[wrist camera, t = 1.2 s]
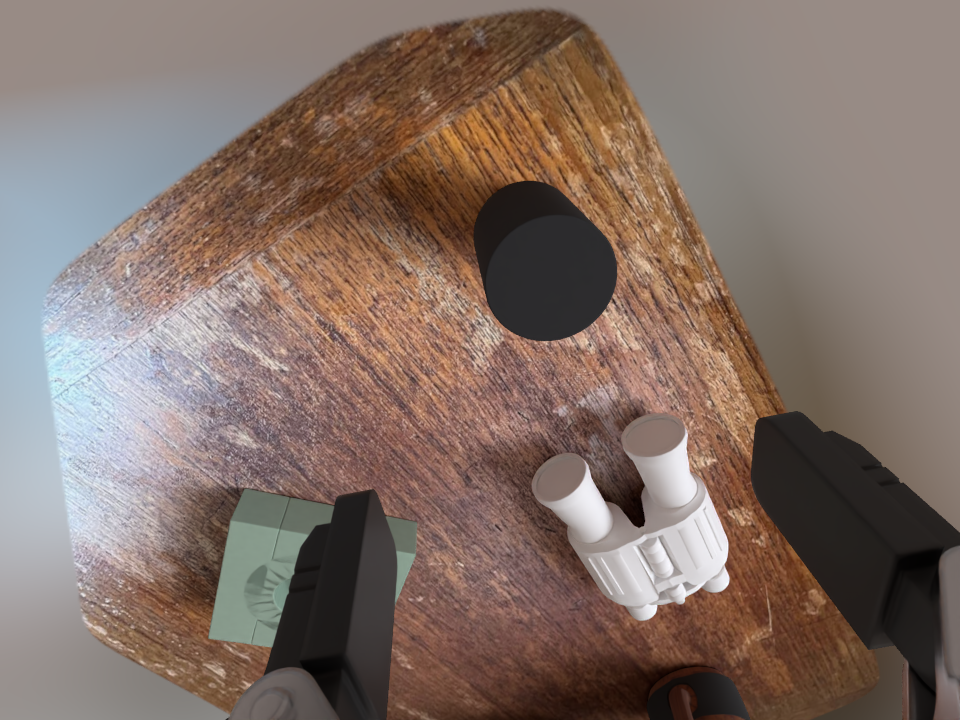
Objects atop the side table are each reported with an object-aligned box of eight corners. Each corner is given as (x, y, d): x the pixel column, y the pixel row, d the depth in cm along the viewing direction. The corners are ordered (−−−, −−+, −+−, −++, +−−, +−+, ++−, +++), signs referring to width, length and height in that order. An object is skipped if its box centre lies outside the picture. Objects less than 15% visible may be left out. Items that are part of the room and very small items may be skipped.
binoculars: (667, 398, 35) (698, 442, 31) (729, 545, 43) (760, 596, 39) (524, 464, 37) (536, 513, 33) (607, 594, 44) (625, 648, 40)
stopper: (457, 251, 29) (466, 321, 21) (489, 155, 27) (513, 194, 19) (544, 279, 31) (583, 355, 23) (581, 189, 28) (641, 240, 20)
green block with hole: (221, 602, 41) (207, 639, 39) (244, 487, 36) (229, 520, 34) (375, 625, 44) (371, 661, 41) (417, 521, 39) (416, 554, 36)
